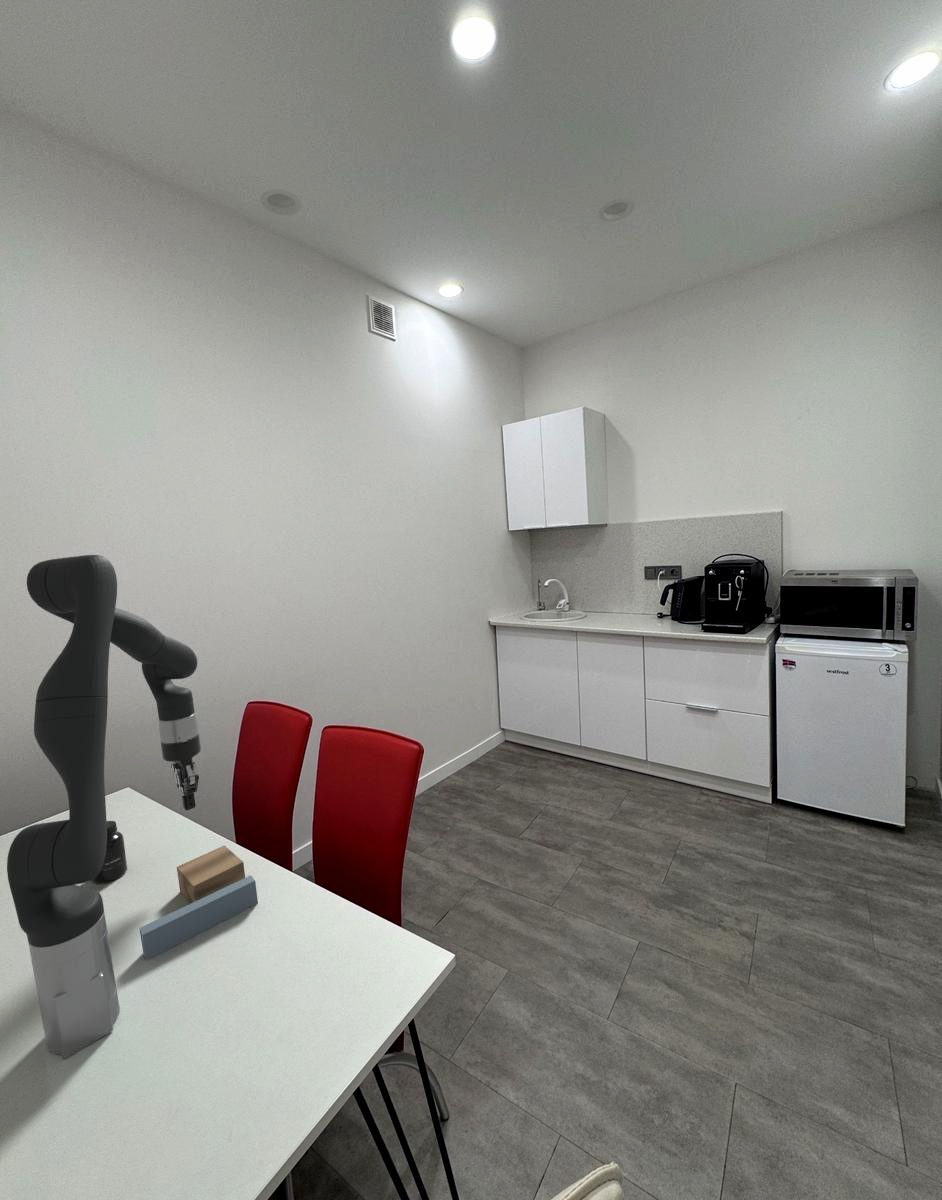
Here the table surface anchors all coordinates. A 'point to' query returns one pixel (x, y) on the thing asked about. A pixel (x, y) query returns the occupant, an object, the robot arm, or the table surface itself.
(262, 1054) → the table surface
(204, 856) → the walnut block
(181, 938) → the slate board
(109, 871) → the supplement bottle
